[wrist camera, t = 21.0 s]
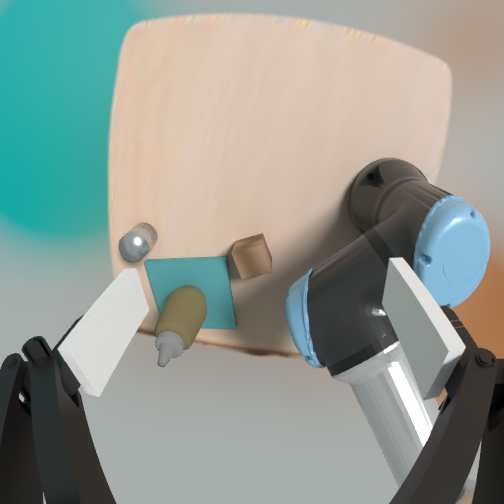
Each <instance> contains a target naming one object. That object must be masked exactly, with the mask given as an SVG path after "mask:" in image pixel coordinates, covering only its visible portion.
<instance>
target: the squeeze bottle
mask: <svg viewBox="0 0 504 504" xmlns="http://www.w3.org/2000/svg"><path fill="white" fill-rule="evenodd" d="M206 316H207V305H206V299H205V296H204V294H203V292H202V291H201V290H200V289H198V288H197V287H195V286H191V285H186V286H182V287H181V288H179V289H177V290H176V291H174V292H172V293H171V294H170V295H169V296H168V298H167V299H166V302H165V304H164V307H163V310H162V312H161V315H160V317H159V320H158V323H157V326H156V328H155V335H156V337H157V339H156V341H155V346H156V348H157V350H158V351H159V357H158V365H159V366H160V367H165V365H166V364H167V363H168V362H169V360H170V359H171V358H176V357H179V356H181V354H182V353H183V351H184V350H186V349H188V348H189V347H190V346H191V345H192V343H193V341H194V339H195V337H196V335H197V334H198V332H199V330H200V328H201V326H202V324H203V322H204V320H205V318H206Z"/></svg>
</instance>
